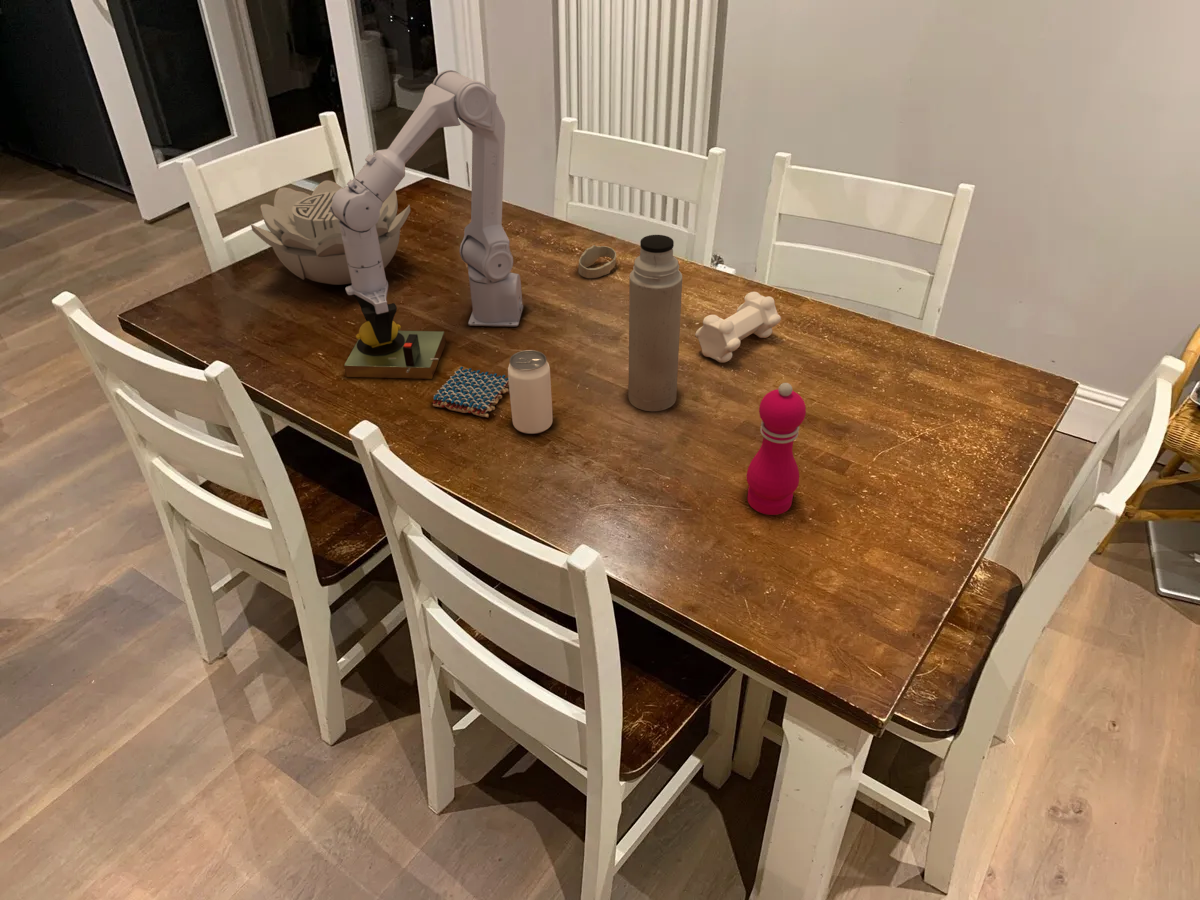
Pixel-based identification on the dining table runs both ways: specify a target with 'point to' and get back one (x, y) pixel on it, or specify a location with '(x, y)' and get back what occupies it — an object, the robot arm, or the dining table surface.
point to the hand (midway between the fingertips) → (378, 331)
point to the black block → (411, 349)
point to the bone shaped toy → (737, 326)
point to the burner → (382, 347)
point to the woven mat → (471, 392)
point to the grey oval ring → (591, 256)
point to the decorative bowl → (321, 233)
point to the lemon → (369, 337)
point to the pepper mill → (776, 452)
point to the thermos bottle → (654, 325)
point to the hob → (399, 359)
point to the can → (530, 392)
